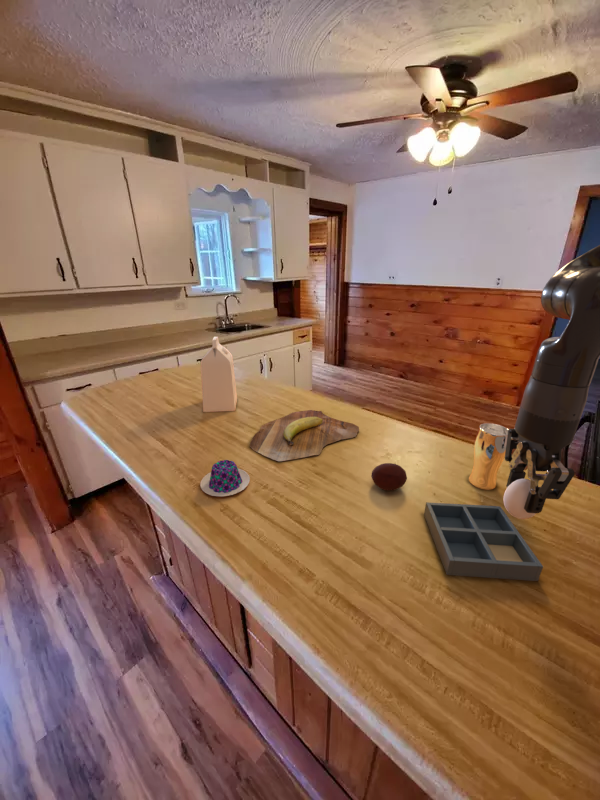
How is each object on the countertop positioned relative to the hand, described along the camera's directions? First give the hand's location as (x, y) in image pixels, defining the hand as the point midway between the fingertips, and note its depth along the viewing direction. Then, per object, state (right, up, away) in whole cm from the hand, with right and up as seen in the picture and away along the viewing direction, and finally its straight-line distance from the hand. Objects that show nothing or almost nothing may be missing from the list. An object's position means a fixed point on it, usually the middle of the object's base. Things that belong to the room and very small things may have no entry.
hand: (521, 499), depth 57 cm
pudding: (-56, -4, +27) cm, 62 cm away
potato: (-16, -5, +26) cm, 31 cm away
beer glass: (+8, -4, +28) cm, 29 cm away
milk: (-68, +15, +73) cm, 101 cm away
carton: (-3, -11, +9) cm, 15 cm away
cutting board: (-37, +6, +51) cm, 63 cm away
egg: (0, -3, +1) cm, 4 cm away
